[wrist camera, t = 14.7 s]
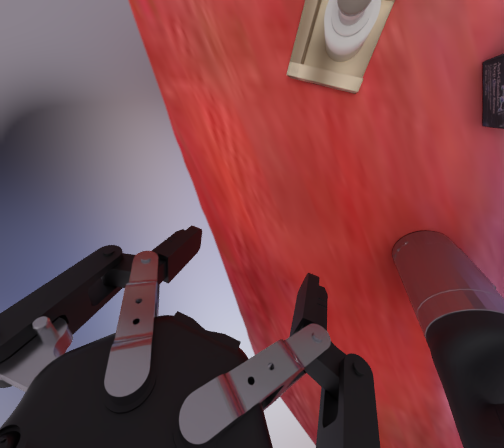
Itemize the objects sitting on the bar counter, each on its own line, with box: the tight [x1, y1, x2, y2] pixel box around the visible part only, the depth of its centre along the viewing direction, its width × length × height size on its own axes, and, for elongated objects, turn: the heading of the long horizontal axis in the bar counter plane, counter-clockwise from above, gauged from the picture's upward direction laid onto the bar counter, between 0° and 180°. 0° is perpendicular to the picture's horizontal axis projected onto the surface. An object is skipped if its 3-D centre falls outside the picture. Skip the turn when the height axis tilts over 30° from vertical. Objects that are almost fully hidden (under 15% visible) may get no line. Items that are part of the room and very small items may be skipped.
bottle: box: [324, 0, 381, 62], centre depth 22 cm, size 5×5×14 cm
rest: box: [287, 0, 395, 94], centre depth 27 cm, size 10×11×4 cm
